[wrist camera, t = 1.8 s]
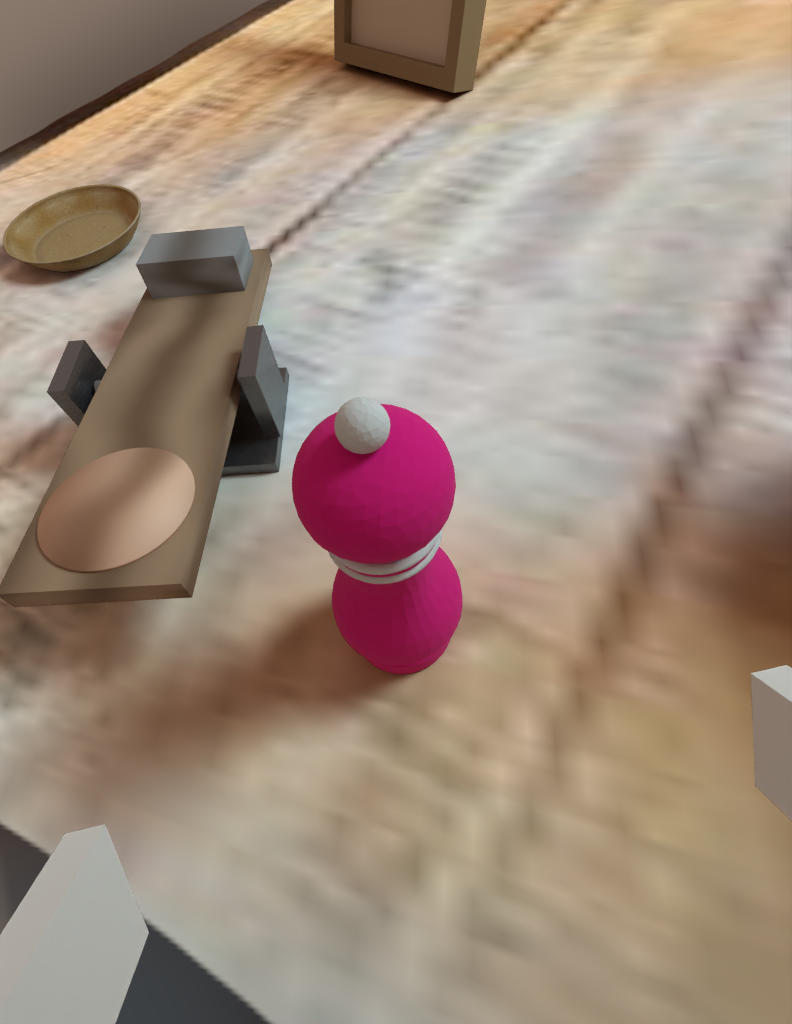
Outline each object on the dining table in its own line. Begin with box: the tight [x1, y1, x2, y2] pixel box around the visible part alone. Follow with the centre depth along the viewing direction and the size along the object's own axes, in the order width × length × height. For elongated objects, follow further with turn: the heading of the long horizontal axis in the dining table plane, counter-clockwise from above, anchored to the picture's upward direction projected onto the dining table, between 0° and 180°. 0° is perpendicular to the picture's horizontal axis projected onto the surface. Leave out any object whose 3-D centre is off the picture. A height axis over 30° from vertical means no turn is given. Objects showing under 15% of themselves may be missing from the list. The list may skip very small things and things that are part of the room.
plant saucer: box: [3, 184, 141, 272], centre depth 58 cm, size 15×15×3 cm
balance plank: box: [0, 226, 272, 607], centre depth 37 cm, size 11×35×4 cm, turn 2°
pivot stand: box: [47, 325, 289, 475], centre depth 40 cm, size 14×10×7 cm
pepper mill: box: [292, 398, 462, 674], centre depth 24 cm, size 7×7×20 cm
